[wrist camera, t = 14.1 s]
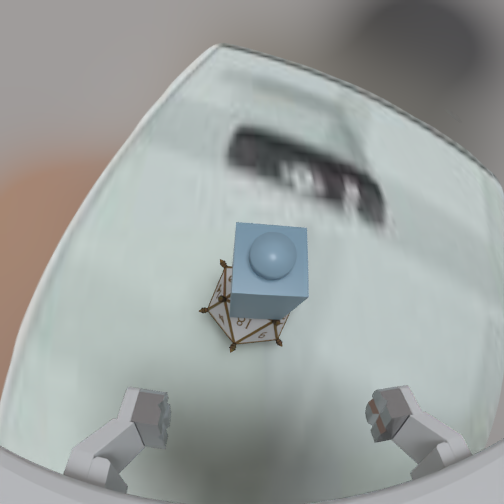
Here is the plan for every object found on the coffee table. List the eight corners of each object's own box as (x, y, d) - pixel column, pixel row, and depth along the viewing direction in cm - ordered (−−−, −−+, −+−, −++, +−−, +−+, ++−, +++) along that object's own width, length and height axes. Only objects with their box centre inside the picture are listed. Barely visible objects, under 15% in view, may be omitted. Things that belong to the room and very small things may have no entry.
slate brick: (280, 319, 23) (312, 293, 15) (229, 317, 22) (232, 289, 14) (281, 270, 24) (310, 221, 16) (232, 267, 24) (236, 215, 16)
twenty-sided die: (230, 325, 34) (165, 320, 25) (259, 257, 34) (200, 231, 26) (294, 363, 29) (239, 374, 20) (329, 286, 29) (287, 267, 20)
